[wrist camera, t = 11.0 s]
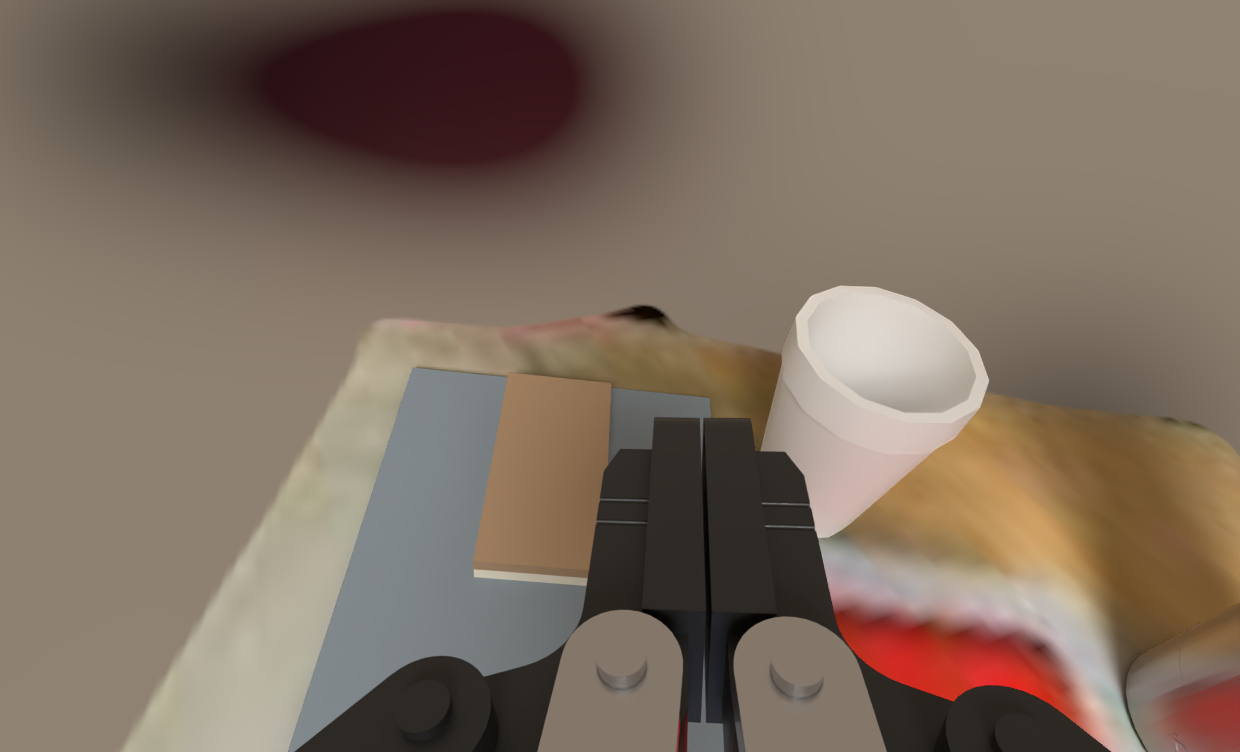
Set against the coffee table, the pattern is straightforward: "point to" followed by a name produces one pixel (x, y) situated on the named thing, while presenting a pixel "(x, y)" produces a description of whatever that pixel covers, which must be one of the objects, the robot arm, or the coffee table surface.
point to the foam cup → (868, 396)
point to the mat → (454, 552)
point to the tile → (544, 481)
